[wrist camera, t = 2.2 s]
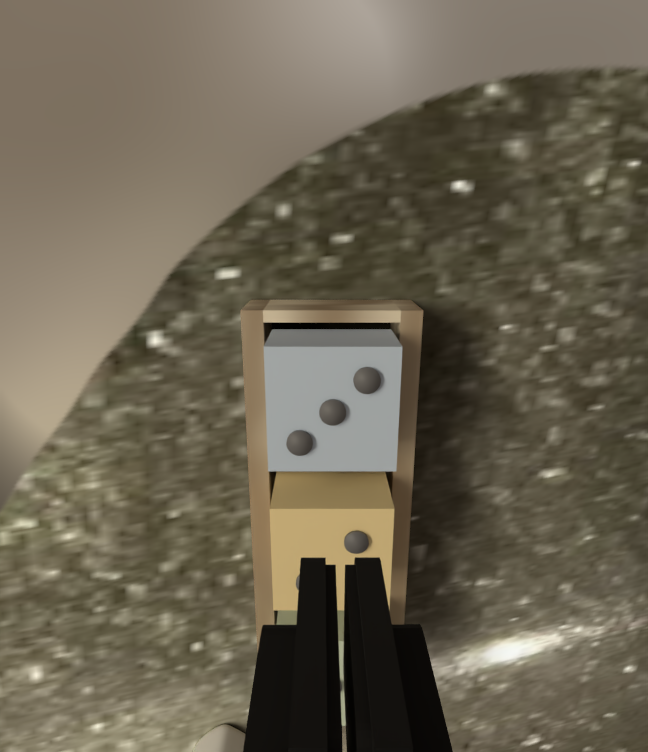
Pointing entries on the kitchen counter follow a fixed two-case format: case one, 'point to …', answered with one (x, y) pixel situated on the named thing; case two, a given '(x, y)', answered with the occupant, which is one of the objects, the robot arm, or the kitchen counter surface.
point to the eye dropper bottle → (221, 740)
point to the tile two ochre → (328, 527)
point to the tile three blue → (332, 399)
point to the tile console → (261, 481)
